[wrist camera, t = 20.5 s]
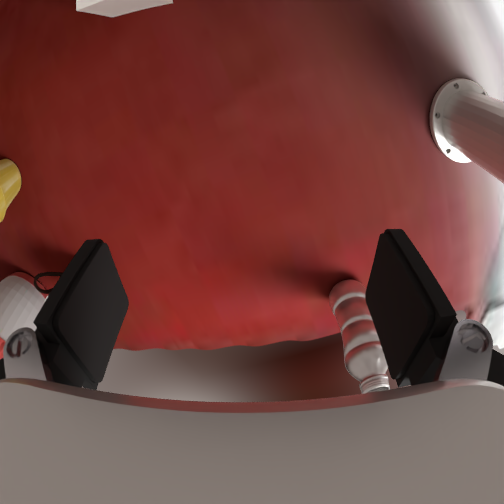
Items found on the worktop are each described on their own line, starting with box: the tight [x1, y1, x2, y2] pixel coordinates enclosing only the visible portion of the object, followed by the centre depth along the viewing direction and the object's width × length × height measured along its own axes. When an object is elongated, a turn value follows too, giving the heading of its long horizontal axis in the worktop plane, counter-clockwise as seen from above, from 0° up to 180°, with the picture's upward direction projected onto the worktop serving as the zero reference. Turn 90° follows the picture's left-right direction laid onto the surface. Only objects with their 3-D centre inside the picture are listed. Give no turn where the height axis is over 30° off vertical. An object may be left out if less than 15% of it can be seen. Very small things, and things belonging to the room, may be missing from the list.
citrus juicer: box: [0, 272, 48, 359], centre depth 42 cm, size 16×17×20 cm
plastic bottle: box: [329, 279, 390, 394], centre depth 41 cm, size 6×7×20 cm
